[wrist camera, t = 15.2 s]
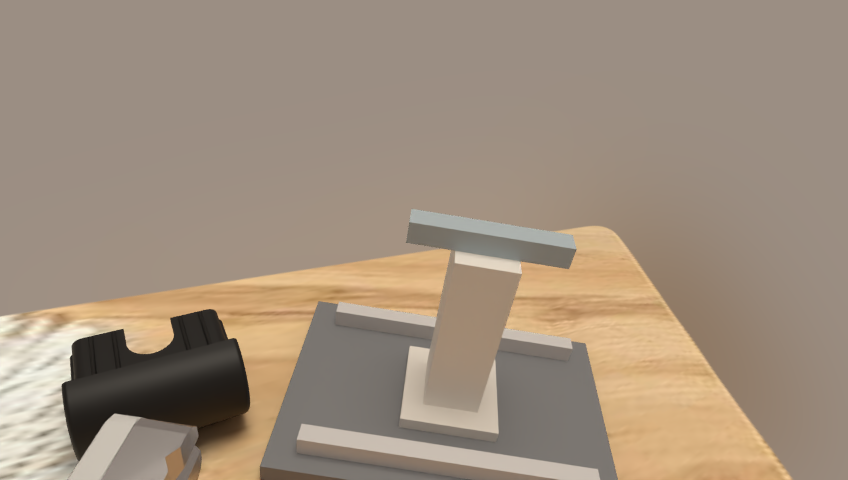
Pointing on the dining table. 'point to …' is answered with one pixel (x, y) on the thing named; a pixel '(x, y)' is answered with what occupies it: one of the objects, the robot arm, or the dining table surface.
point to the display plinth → (420, 450)
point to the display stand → (470, 320)
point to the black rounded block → (156, 379)
